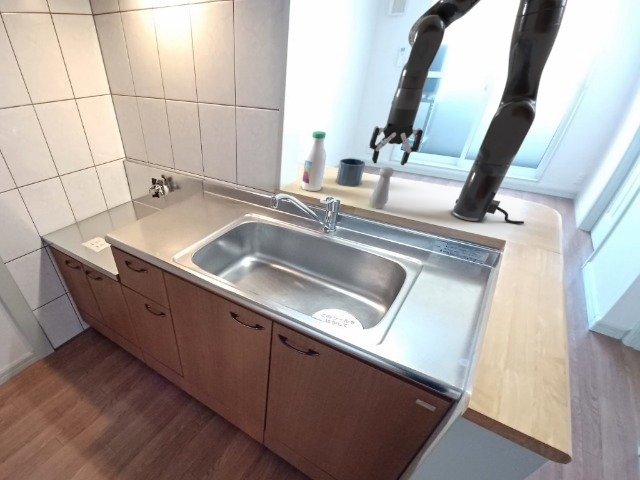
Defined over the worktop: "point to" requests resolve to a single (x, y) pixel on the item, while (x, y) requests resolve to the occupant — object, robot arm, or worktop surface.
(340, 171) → the cup
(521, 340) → the worktop surface
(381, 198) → the salt shaker
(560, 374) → the worktop surface
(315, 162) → the milk bottle
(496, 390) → the worktop surface
